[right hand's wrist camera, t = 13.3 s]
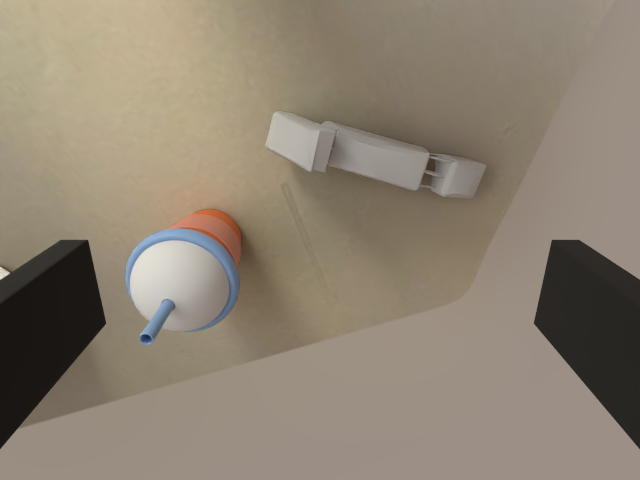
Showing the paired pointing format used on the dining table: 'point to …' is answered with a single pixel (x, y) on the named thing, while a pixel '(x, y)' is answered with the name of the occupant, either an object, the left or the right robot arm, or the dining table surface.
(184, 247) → the cup with straw
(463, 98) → the dining table surface
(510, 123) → the dining table surface
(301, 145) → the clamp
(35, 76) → the dining table surface
